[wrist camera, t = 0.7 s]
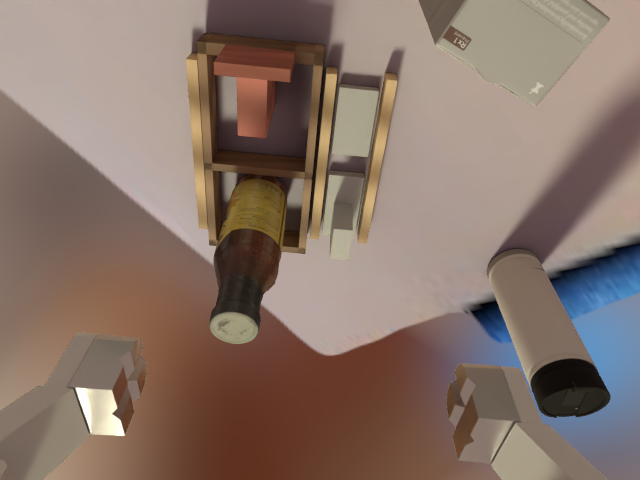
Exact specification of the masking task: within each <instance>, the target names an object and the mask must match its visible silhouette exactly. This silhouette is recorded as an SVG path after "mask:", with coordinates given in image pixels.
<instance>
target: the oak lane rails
mask: <svg viewBox="0 0 640 480" xmlns="http://www.w3.org/2000/svg"><path fill="white" fill-rule="evenodd" d="M186 66H187V79H188V91H189V104H190V117H191V130H192V143H193V156H194V169H195V182H196V195H197V208H198V220H199V228H201V229H208V214H207V198H206V182H205V167H204V151H203V135H202V119H201V103H200V87H199V71H198V55H197V53H191V54H190V55H189V56H188V57H187V59H186ZM336 80H337V68H335V67H327V68H326V79H325V89H324V99H323V109H322V119H321V129H320V140H319V150H318V160H317V170H316V180H315V190H314V201H313V211H312V221H311V232H310V238H311V239H319V231H320V222H321V213H322V204H323V196H324V187H325V178H326V169H327V160H328V151H329V142H330V133H331V125H332V116H333V107H334V98H335V89H336ZM397 81H398V80H397V77H396V74H393V73H385V76H384V82H383V88H382V93H381V99H380V105H379V111H378V116H377V122H376V128H375V134H374V140H373V145H372V151H371V157H370V163H369V168H368V174H367V180H366V186H365V192H364V197H363V203H362V209H361V215H360V220H359V226H358V232H357V234H358V243H367V238H368V233H369V228H370V223H371V217H372V212H373V207H374V202H375V196H376V191H377V186H378V181H379V176H380V170H381V165H382V160H383V155H384V149H385V144H386V139H387V134H388V128H389V123H390V118H391V113H392V107H393V102H394V97H395V92H396V86H397Z"/></svg>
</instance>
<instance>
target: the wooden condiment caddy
mask: <svg viewBox="0 0 640 480" xmlns="http://www.w3.org/2000/svg"><path fill="white" fill-rule="evenodd" d="M197 55H198V71H199V87H200V103H201V119H202V135H203V151H204V167H205V182H206V198H207V214H208V230H209V245H213V246H217V243H218V240H219V237H220V233H221V229H222V226H223V225H221V206H220V182H219V171H224V172H235V173H245V174H256V175H266V176H277V177H288V178H298V179H304V189H303V201H302V213H301V225H300V232H292V231H284V236H283V244H282V252H291V253H302V254H305V250H306V239H307V229H308V218H309V207H310V196H311V186H312V175H313V164H314V154H315V143H316V132H317V121H318V111H319V100H320V89H321V78H322V68H323V57H324V45H318V44H308V43H299V42H289V41H279V40H270V39H260V38H250V37H241V36H231V35H222V34H212V33H204V34H203V35H202V36H201V37H200V38H199V39H198V40H197ZM214 55H217V58H216V59H215V61H214ZM294 63H295V64H305V65H314V67H313V79H312V91H311V103H310V115H309V128H308V140H307V152H306V158H296V157H285V156H275V155H264V154H254V153H243V152H233V151H223V150H218V135H217V111H216V87H215V75H221V76H231V77H237V114H238V136H247V137H258V138H266V136H267V132H268V129H269V125H270V122H271V118H272V114H273V111H274V107H275V104H276V81H280V82H290V80H291V75H292V71H293V67H294Z"/></svg>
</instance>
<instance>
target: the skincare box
mask: <svg viewBox="0 0 640 480" xmlns="http://www.w3.org/2000/svg"><path fill="white" fill-rule="evenodd" d="M419 2H420V5H421V8H422V10H423V13H424V16H425V18H426V21H427V23H428V26H429V29H430V32H431V35H432V38H433V40H434V43H435V45H436V47H437V48H439V49H441V50H443V51H444V52H446V53H448V54H449V55H451V56H452V57H454V58H456V59H457V60H459V61H460V62H462V63H464V64H465V65H467V66H469V67H470V68H472V69H474V70H475V71H477V74H478V75H479V76H480V77H481V78H482V79H483V80H485V81H486V82H489V83H492V84H497V85H499V86H500V87H502V88H503V89H505V90H507V91H508V92H510V93H511V94H513V95H515V96H516V97H518V98H520V99H521V100H523V101H525V102H526V103H528V104H529V105H532V106H537V105H538V104H539V102H540V101H541V100H542V99H543V98H544V97H545V95H546V94H547V93H548V92H549V91H550V90H551V88H552V87H553V86H554V85H555V84H556V83H557V81H558V80H559V79H560V78H561V77H562V75H563V74H564V73H565V72H566V71H567V70H568V68H569V67H570V66H571V65H572V64H573V63H574V61H575V60H576V59H577V58H578V57H579V55H580V54H581V53H582V52H583V51H584V50H585V48H586V47H587V46H588V45H589V44H590V43H591V42H592V41H593V39H594V38H595V37H596V36H597V35H598V34H599V32H600V31H601V30H602V29H603V28H604V26H605V25H606V24H607V23H608V22H609V20H610V18H609V17H608V16H606V15H605V14H604V13H603V12H601V11H600V10H599V9H597V8H596V7H595V6H593V5H592V4H591V3H589V2H588V1H587V0H419Z"/></svg>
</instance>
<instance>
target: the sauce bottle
mask: <svg viewBox="0 0 640 480" xmlns="http://www.w3.org/2000/svg"><path fill="white" fill-rule="evenodd" d="M286 210H287V198H286V190H285V188H284V186H283V185H282V183H281V182H280V181H279V180H277V179H276V178H275V177H273V176H266V175H256V174H248V175H246V176H244V177H243V178H241V180H240V181H239V182H238V183H237V184H236V186H235V189H234V190H233V192H232V195H231V198H230V202H229V205H228V209H227V212H226V215H225V219H224V223H223V226H222V229H221V233H220V237H219V240H218V243H217V247H216V250H215V254H214V267H215V272H216V277H217V283H218V287H219V294H218V298H217V303H216V306H215V308H214V309H213V310H212V312H211V317H210V330H211V332H212V333H213V334H214V335H215V336H216V337H217V338H219V339H221V340H222V341H225V342H229V343H233V344H242V343H246V342H249V341H251V340H253V339H254V338H255V337H256V336H257V333H258V331H259V326H260V321H261V320H260V319H261V318H260V313H259V311H260V304H261V301H262V297H263V294H264V293H265V292H266V291H268V290H269V289H270V288H271V287H272V286H273V285H274V284H275V280H276V278H277V275H278V267H279V262H280V259H281V253H282V244H283V236H284V227H285V219H286Z"/></svg>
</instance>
